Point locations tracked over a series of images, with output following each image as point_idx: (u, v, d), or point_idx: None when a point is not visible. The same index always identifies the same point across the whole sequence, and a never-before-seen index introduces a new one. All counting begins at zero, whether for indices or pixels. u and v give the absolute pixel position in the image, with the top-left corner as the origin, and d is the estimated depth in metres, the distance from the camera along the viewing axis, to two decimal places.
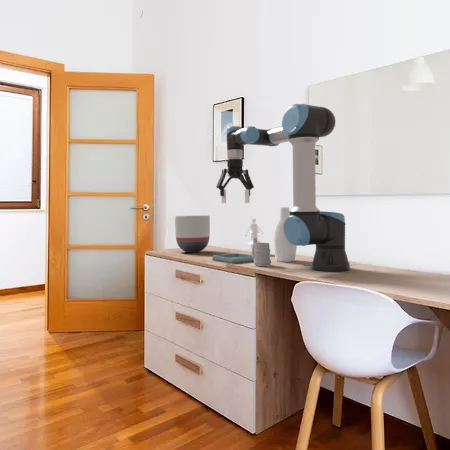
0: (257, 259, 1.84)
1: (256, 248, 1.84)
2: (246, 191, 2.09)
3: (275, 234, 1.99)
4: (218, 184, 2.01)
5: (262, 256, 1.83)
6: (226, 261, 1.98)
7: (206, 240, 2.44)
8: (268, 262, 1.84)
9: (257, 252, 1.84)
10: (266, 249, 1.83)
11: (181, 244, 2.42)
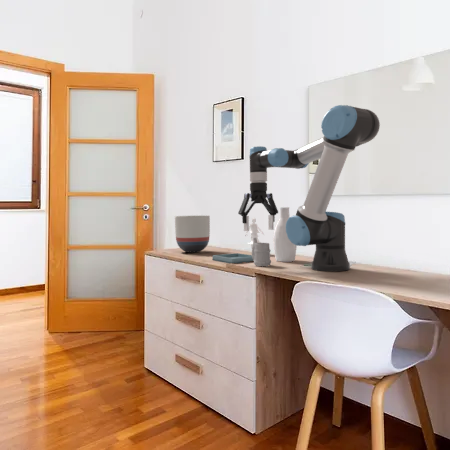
0: (257, 259, 1.84)
1: (256, 248, 1.84)
2: (270, 217, 1.91)
3: (275, 234, 1.99)
4: (240, 210, 1.82)
5: (262, 256, 1.83)
6: (226, 261, 1.98)
7: (206, 240, 2.44)
8: (268, 262, 1.84)
9: (257, 252, 1.84)
10: (266, 249, 1.83)
11: (181, 244, 2.42)
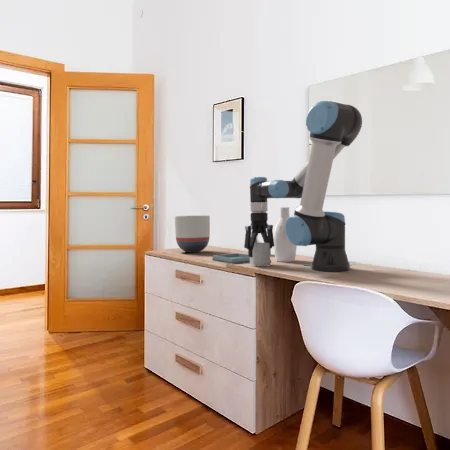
0: (257, 259, 1.84)
1: (256, 248, 1.85)
2: None
3: (275, 234, 1.99)
4: (246, 244, 1.84)
5: (262, 256, 1.83)
6: (226, 261, 1.98)
7: (206, 240, 2.44)
8: (268, 262, 1.84)
9: (257, 252, 1.84)
10: (266, 249, 1.83)
11: (181, 244, 2.42)
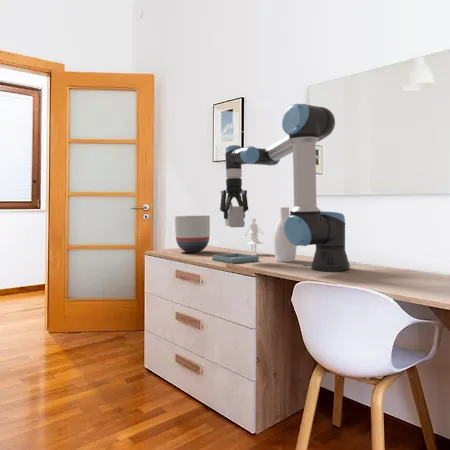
0: (232, 220, 2.00)
1: (231, 210, 2.01)
2: None
3: (275, 234, 1.99)
4: (221, 207, 2.00)
5: (236, 217, 1.99)
6: (226, 261, 1.98)
7: (206, 240, 2.44)
8: (242, 223, 2.00)
9: (232, 214, 2.00)
10: (240, 211, 2.00)
11: (181, 244, 2.42)
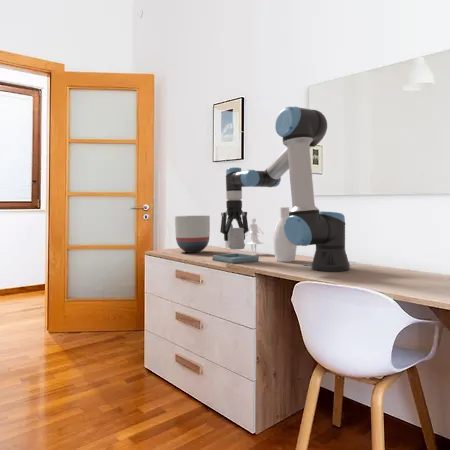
0: (232, 242, 2.01)
1: (231, 232, 2.01)
2: None
3: (275, 234, 1.99)
4: (221, 229, 2.01)
5: (236, 240, 2.00)
6: (226, 261, 1.98)
7: (206, 240, 2.44)
8: (242, 245, 2.01)
9: (232, 236, 2.01)
10: (240, 233, 2.00)
11: (181, 244, 2.42)
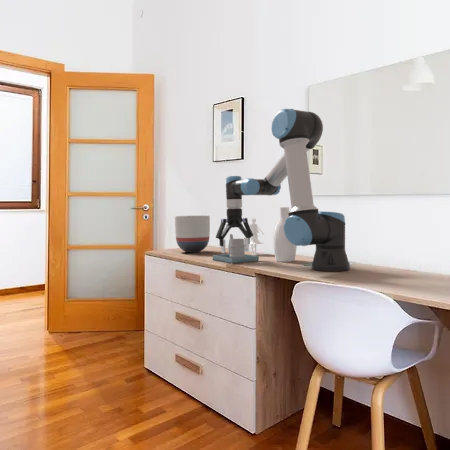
0: (232, 253, 2.01)
1: (231, 243, 2.01)
2: (245, 239, 2.08)
3: (275, 234, 1.99)
4: (217, 234, 2.00)
5: (237, 251, 2.00)
6: (226, 261, 1.98)
7: (206, 240, 2.44)
8: (242, 256, 2.01)
9: (232, 247, 2.01)
10: (240, 244, 2.00)
11: (181, 244, 2.42)
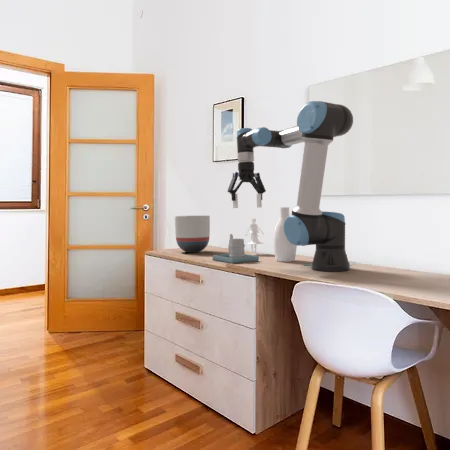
0: (232, 253, 2.01)
1: (231, 243, 2.01)
2: (258, 195, 2.01)
3: (275, 234, 1.99)
4: (229, 188, 1.92)
5: (237, 251, 2.00)
6: (226, 261, 1.98)
7: (206, 240, 2.44)
8: (242, 256, 2.01)
9: (232, 247, 2.01)
10: (240, 244, 2.00)
11: (181, 244, 2.42)
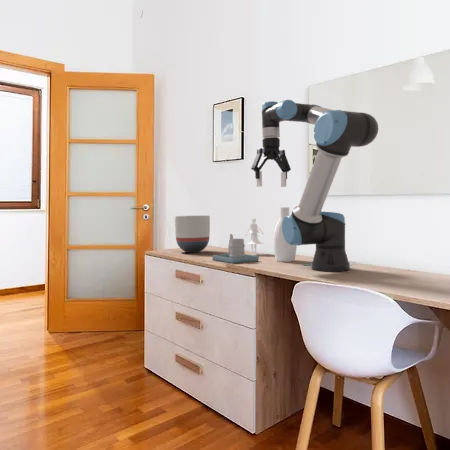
0: (232, 253, 2.01)
1: (231, 243, 2.01)
2: (282, 174, 1.90)
3: (275, 234, 1.99)
4: (253, 165, 1.82)
5: (237, 251, 2.00)
6: (226, 261, 1.98)
7: (206, 240, 2.44)
8: (242, 256, 2.01)
9: (232, 247, 2.01)
10: (240, 244, 2.00)
11: (181, 244, 2.42)
